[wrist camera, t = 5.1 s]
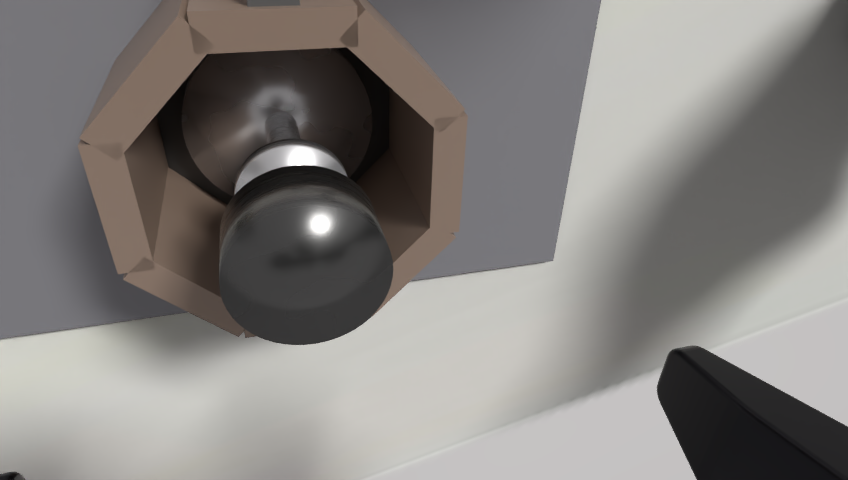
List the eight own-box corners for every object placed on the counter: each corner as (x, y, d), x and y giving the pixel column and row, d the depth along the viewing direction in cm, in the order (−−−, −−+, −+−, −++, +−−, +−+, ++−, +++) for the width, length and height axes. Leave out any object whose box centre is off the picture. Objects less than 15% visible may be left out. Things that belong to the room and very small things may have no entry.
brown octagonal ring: (418, -145, 15) (486, -134, 11) (410, 215, 21) (453, 305, 17) (57, -154, 13) (-14, -145, 9) (159, 244, 19) (142, 353, 15)
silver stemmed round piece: (364, 20, 17) (450, 140, 10) (368, 185, 20) (437, 358, 13) (165, 28, 16) (125, 169, 9) (200, 202, 19) (188, 400, 12)
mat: (624, -161, 17) (630, -161, 16) (549, 256, 24) (553, 260, 24) (-279, -194, 12) (-290, -195, 12) (-15, 334, 20) (-18, 341, 20)
